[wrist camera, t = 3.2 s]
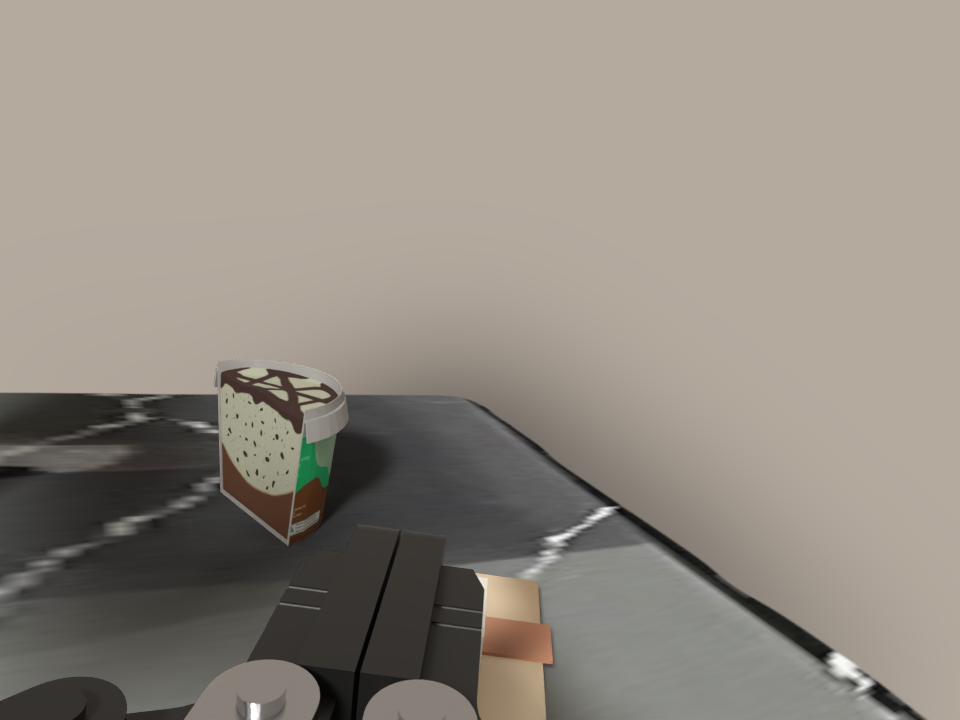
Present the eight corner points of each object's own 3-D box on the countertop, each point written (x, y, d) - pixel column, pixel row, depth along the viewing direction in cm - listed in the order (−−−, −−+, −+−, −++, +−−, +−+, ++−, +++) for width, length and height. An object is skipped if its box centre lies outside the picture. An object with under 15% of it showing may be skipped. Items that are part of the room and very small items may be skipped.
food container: (375, 529, 51) (387, 398, 48) (300, 556, 46) (310, 413, 43) (281, 466, 58) (288, 350, 56) (210, 484, 54) (214, 359, 51)
